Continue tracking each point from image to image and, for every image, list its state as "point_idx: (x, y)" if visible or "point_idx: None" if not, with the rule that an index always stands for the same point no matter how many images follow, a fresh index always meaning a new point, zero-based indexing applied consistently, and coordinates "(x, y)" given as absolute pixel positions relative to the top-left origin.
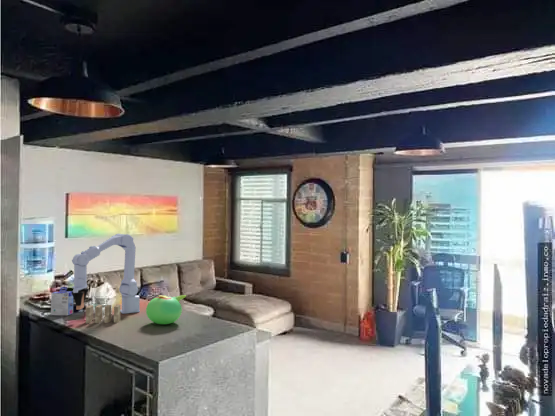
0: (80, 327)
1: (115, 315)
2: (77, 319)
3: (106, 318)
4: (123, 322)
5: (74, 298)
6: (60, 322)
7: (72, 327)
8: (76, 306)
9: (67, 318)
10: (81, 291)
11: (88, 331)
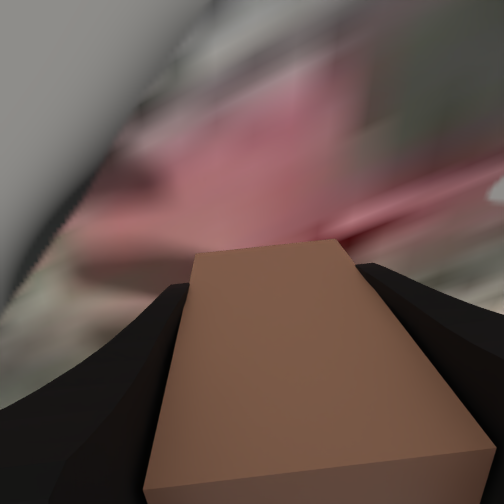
0: (90, 287)
1: None
2: (353, 146)
3: None
4: None
5: (85, 367)
6: (244, 4)
7: (78, 225)
8: (191, 274)
9: (415, 5)
10: (498, 484)
11: (4, 377)
